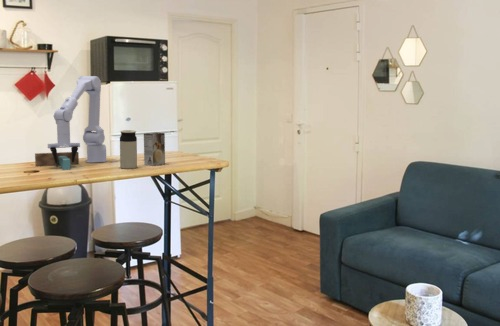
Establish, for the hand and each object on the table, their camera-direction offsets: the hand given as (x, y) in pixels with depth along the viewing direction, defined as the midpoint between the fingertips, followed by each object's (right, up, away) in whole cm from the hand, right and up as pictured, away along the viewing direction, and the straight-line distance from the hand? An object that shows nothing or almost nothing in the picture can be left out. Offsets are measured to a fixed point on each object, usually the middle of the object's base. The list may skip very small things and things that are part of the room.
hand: (64, 162), depth 248 cm
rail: (0, -3, 0) cm, 3 cm away
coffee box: (+40, -1, +16) cm, 43 cm away
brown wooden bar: (-5, -1, +6) cm, 8 cm away
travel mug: (+30, -3, +4) cm, 30 cm away
